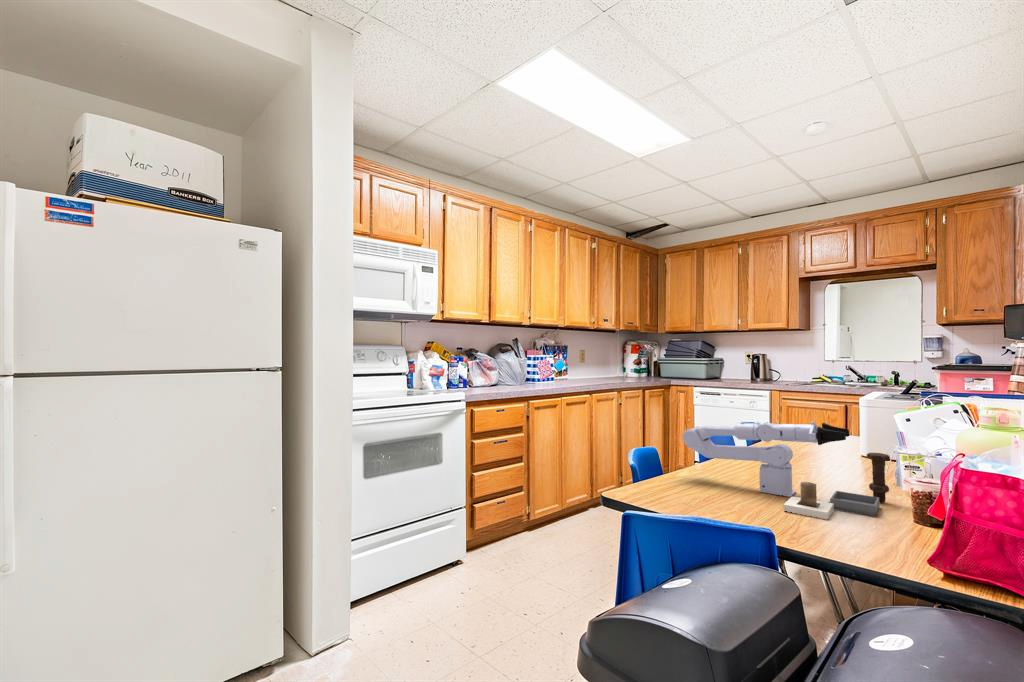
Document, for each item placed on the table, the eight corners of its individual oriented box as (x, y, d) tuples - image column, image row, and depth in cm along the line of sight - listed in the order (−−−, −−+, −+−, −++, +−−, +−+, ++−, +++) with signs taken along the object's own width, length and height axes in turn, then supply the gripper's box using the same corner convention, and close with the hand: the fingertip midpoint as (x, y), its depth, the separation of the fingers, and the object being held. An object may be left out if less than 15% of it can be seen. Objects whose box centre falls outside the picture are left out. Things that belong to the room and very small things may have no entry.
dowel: (799, 511, 143) (799, 484, 143) (802, 507, 146) (802, 481, 146) (815, 514, 140) (814, 486, 140) (817, 510, 143) (817, 483, 143)
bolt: (893, 505, 148) (892, 456, 148) (875, 504, 149) (874, 455, 149) (883, 499, 153) (882, 452, 154) (865, 498, 154) (864, 452, 155)
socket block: (783, 511, 143) (783, 504, 143) (792, 502, 151) (791, 496, 151) (827, 519, 135) (827, 512, 135) (833, 510, 144) (833, 503, 144)
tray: (830, 508, 145) (830, 498, 145) (836, 500, 153) (835, 490, 153) (875, 516, 138) (875, 506, 138) (879, 507, 146) (879, 497, 146)
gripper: (791, 423, 153) (842, 424, 144) (801, 418, 164) (849, 418, 155) (793, 445, 153) (844, 448, 144) (803, 439, 164) (851, 440, 155)
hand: (847, 434), depth 149 cm, fingers open, 7 cm apart
